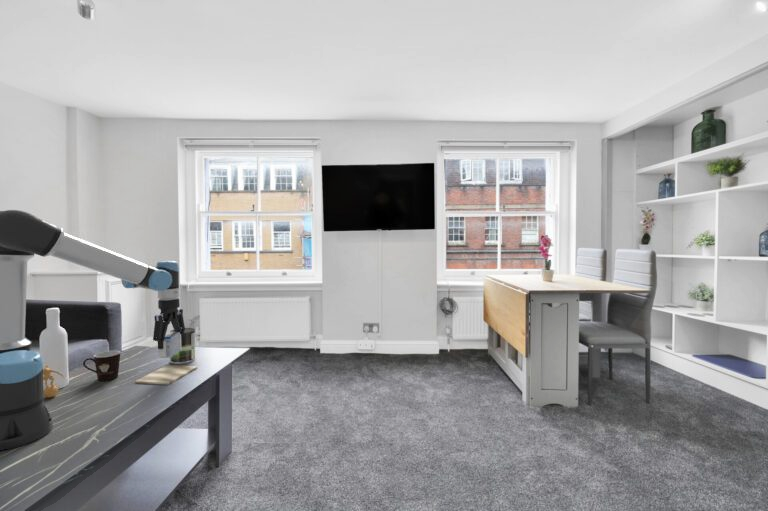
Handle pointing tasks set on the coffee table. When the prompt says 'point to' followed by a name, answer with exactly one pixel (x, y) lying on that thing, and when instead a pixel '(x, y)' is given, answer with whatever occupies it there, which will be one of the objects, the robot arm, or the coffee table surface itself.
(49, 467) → the coffee table surface
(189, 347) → the coffee can
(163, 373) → the birch board
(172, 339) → the medicine box
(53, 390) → the figurine
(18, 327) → the robot arm
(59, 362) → the bottle
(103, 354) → the coffee mug
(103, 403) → the coffee table surface
